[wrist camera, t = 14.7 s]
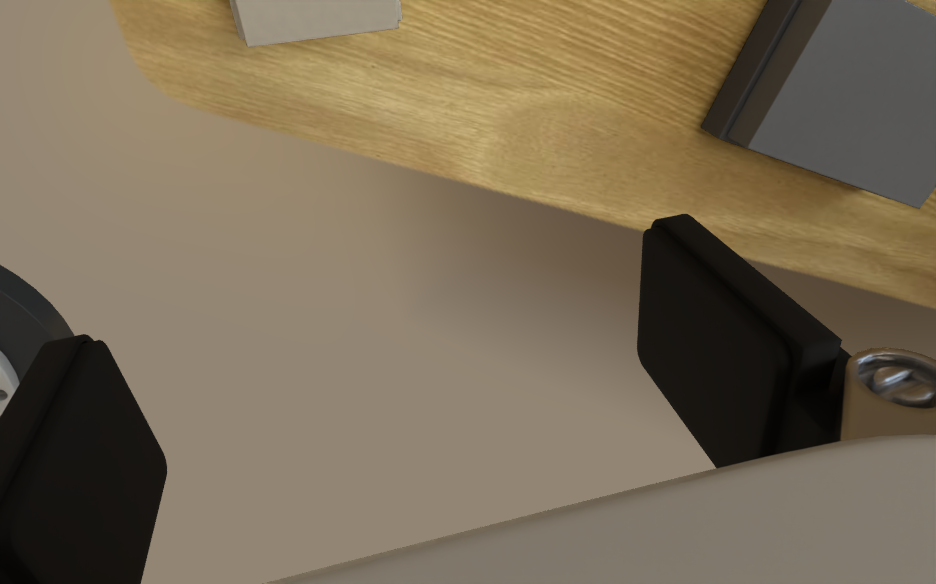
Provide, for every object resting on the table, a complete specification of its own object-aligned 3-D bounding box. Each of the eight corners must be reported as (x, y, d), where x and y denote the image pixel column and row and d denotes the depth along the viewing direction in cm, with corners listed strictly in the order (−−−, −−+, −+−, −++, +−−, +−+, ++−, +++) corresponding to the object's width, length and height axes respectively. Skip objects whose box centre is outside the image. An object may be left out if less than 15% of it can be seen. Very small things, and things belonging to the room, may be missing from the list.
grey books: (700, 127, 40) (738, 151, 36) (790, -42, 35) (844, -35, 32) (867, 187, 45) (916, 213, 41) (965, 45, 40) (1029, 61, 37)
